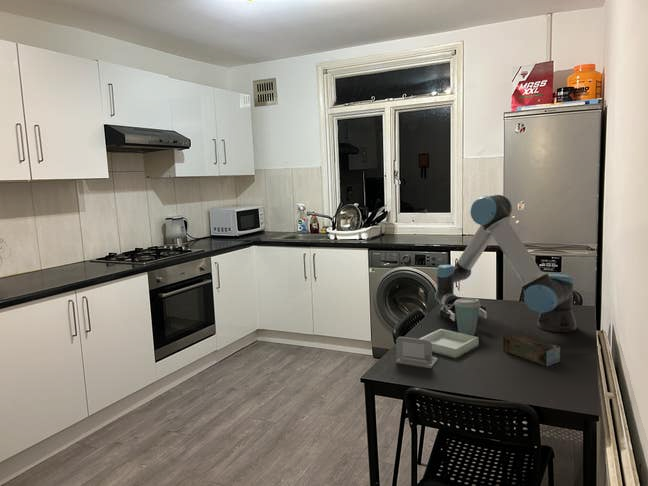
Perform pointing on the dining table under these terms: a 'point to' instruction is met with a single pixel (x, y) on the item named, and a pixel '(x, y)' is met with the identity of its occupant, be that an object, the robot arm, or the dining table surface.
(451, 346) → the sage tray
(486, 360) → the dining table surface
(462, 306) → the disposable coffee cup
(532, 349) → the beverage carton
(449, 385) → the dining table surface
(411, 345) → the handheld gaming console
